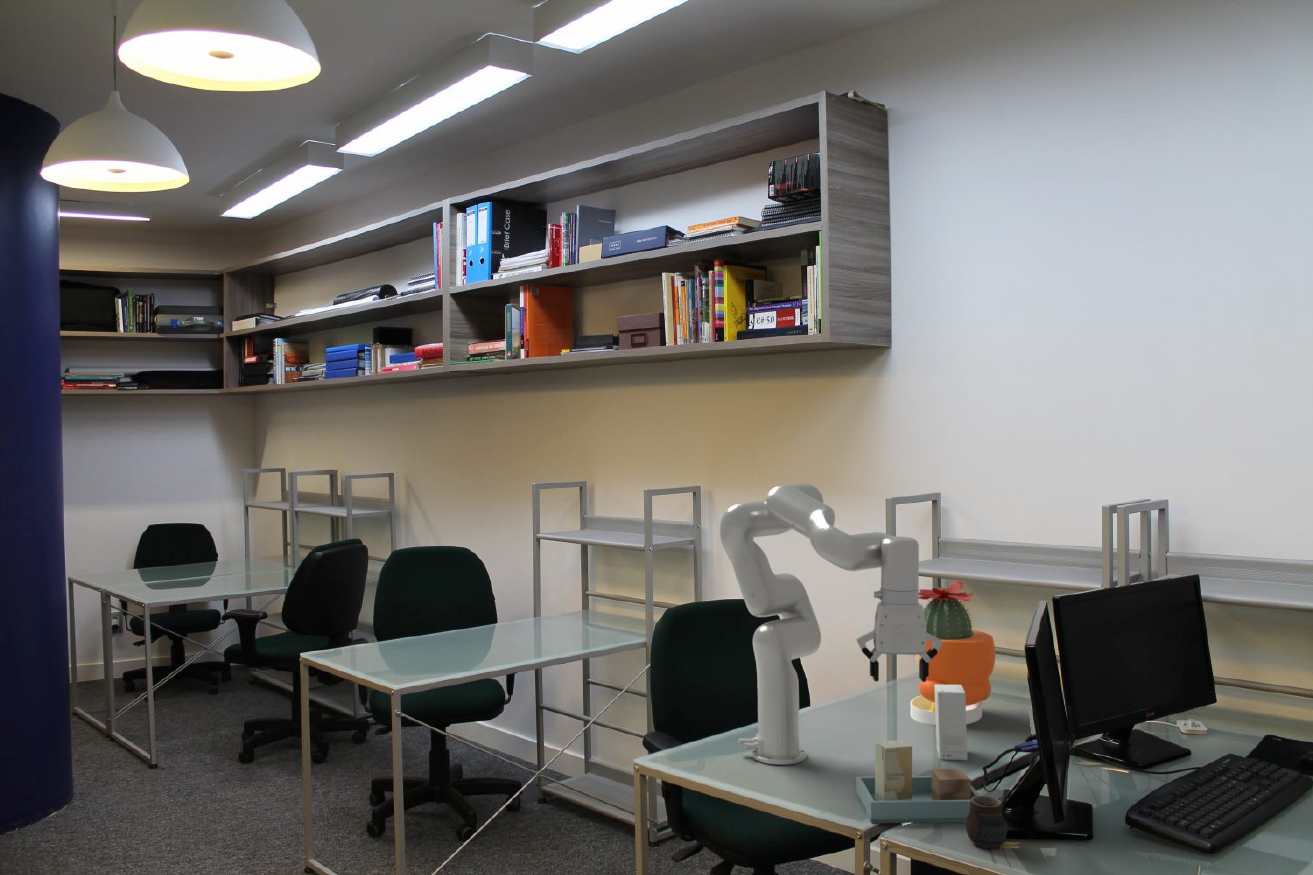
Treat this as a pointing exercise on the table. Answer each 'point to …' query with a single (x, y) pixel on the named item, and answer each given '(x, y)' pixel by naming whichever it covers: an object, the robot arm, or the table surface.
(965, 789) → the walnut block
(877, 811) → the teal tray
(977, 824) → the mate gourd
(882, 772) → the skincare box
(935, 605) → the potted cactus
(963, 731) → the skincare box
